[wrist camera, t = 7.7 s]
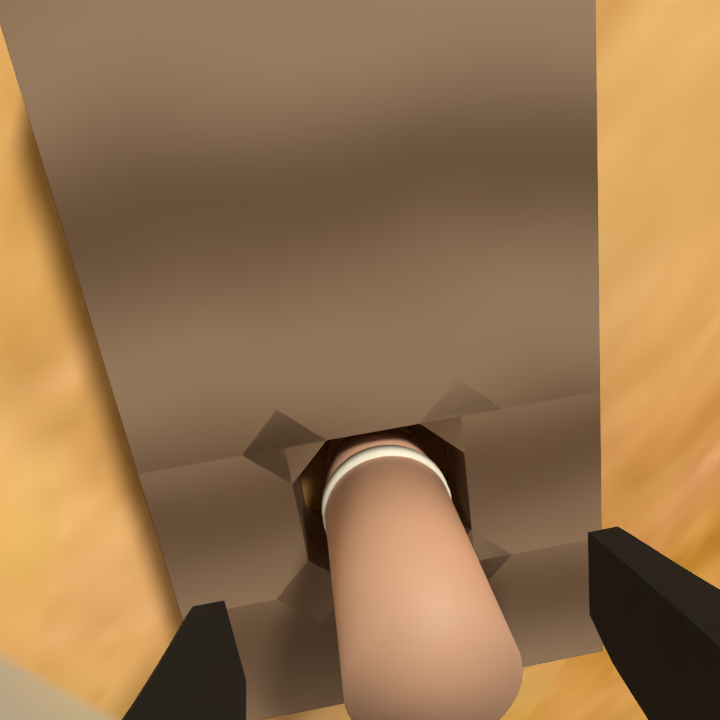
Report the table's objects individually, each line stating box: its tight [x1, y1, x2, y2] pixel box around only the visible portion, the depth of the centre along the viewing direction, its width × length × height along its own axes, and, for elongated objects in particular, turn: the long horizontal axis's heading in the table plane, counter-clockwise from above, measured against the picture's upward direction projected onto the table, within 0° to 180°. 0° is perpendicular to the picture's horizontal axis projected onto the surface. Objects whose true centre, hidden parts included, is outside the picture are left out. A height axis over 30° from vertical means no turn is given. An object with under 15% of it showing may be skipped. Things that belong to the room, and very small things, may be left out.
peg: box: [322, 426, 523, 720], centre depth 14 cm, size 3×3×8 cm
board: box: [0, 0, 603, 720], centre depth 16 cm, size 18×11×2 cm, turn 8°
